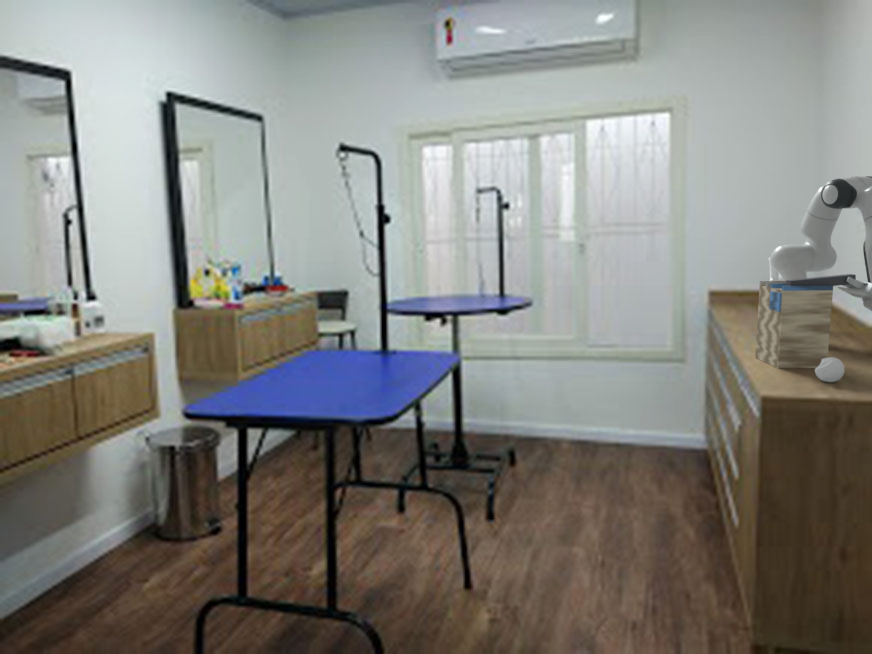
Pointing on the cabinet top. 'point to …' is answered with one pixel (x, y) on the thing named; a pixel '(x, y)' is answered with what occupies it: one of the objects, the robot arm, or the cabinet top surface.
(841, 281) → the dark grey piece
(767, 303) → the riser
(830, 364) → the white round lump
